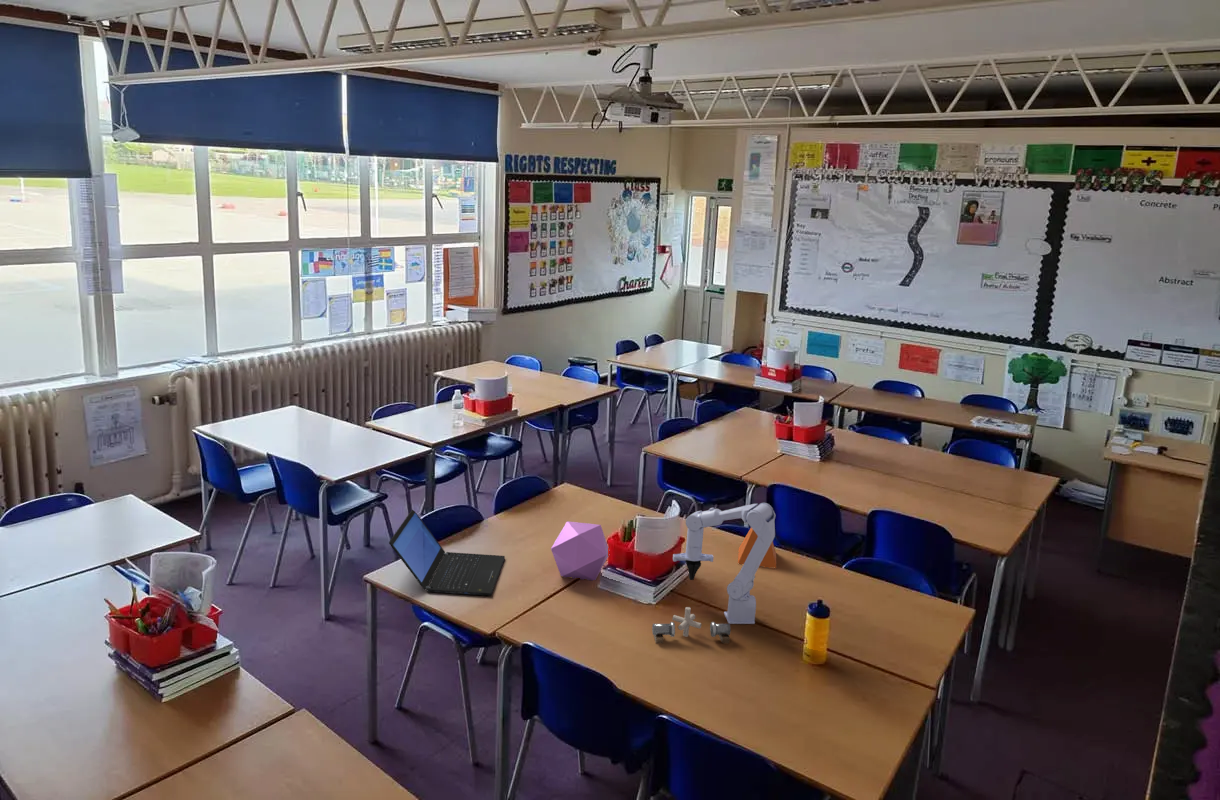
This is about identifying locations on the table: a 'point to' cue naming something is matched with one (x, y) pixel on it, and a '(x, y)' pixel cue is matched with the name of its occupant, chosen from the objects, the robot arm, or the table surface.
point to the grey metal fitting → (663, 631)
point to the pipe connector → (686, 621)
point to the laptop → (443, 562)
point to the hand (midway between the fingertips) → (691, 578)
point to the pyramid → (747, 545)
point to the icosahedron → (580, 550)
